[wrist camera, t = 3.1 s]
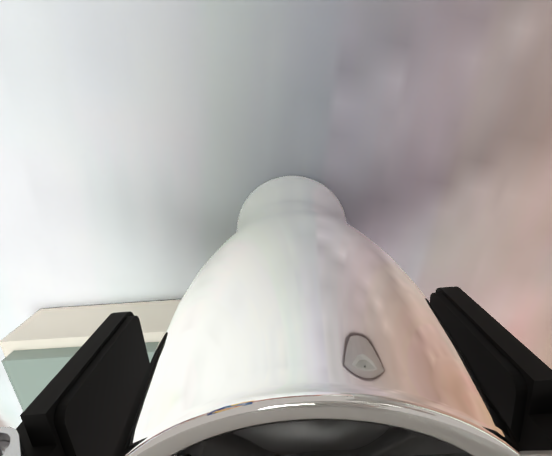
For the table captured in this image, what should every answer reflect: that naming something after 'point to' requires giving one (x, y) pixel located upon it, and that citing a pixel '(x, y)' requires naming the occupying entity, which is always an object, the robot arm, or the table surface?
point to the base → (69, 340)
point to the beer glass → (308, 350)
